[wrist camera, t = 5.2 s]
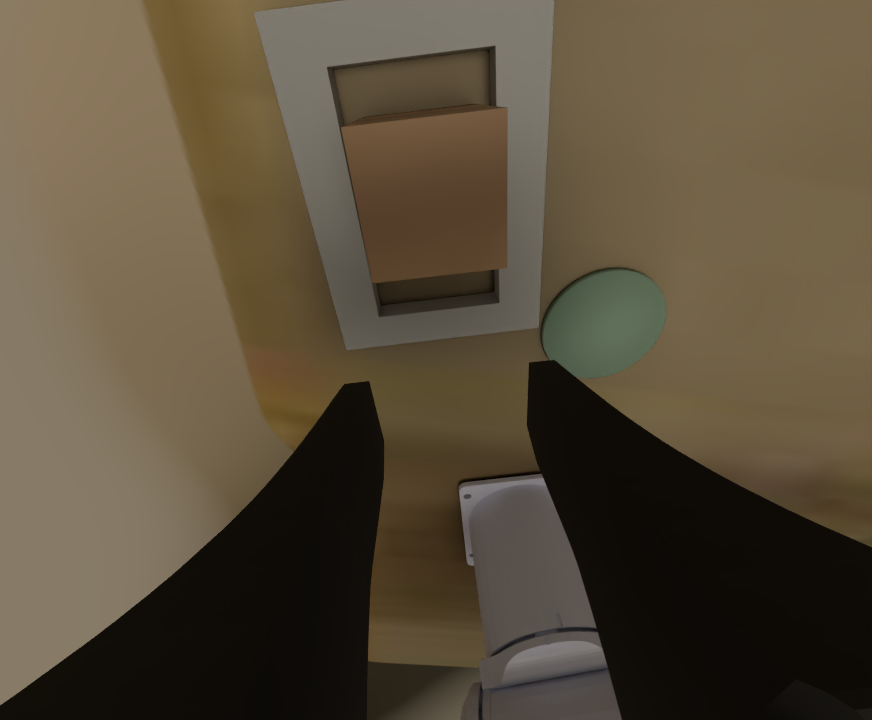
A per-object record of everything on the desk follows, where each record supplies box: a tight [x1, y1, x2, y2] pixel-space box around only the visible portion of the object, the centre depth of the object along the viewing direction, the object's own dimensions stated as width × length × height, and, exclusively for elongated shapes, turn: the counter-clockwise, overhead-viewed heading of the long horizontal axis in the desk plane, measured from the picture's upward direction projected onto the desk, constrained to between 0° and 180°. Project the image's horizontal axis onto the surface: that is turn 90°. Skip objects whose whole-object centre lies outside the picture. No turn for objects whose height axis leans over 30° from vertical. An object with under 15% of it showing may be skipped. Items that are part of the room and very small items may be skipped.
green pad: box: [541, 268, 666, 378], centre depth 20 cm, size 6×6×1 cm
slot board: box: [254, 0, 554, 350], centre depth 15 cm, size 12×9×1 cm
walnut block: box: [341, 104, 508, 284], centre depth 13 cm, size 4×4×6 cm
